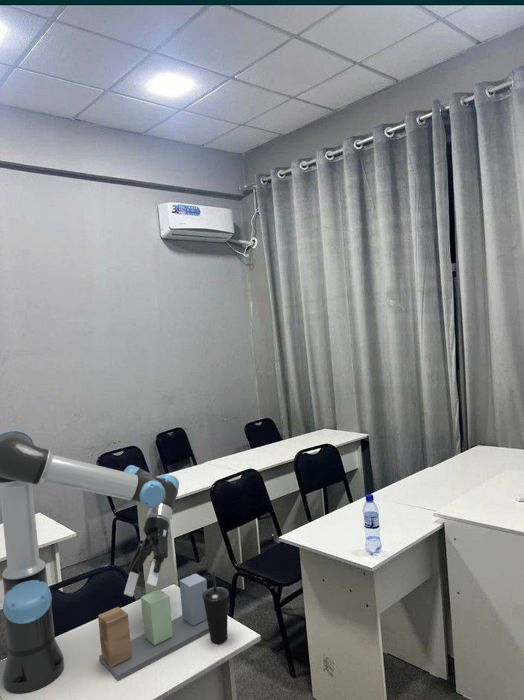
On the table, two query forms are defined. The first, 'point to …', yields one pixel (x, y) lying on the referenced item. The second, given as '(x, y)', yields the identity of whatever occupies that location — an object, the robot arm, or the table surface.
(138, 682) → the table surface
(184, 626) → the grey flat board
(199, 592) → the blue-grey tall block
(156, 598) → the pale green block
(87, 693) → the table surface
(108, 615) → the brown wooden block
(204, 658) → the table surface
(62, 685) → the table surface
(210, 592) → the drinking cup
